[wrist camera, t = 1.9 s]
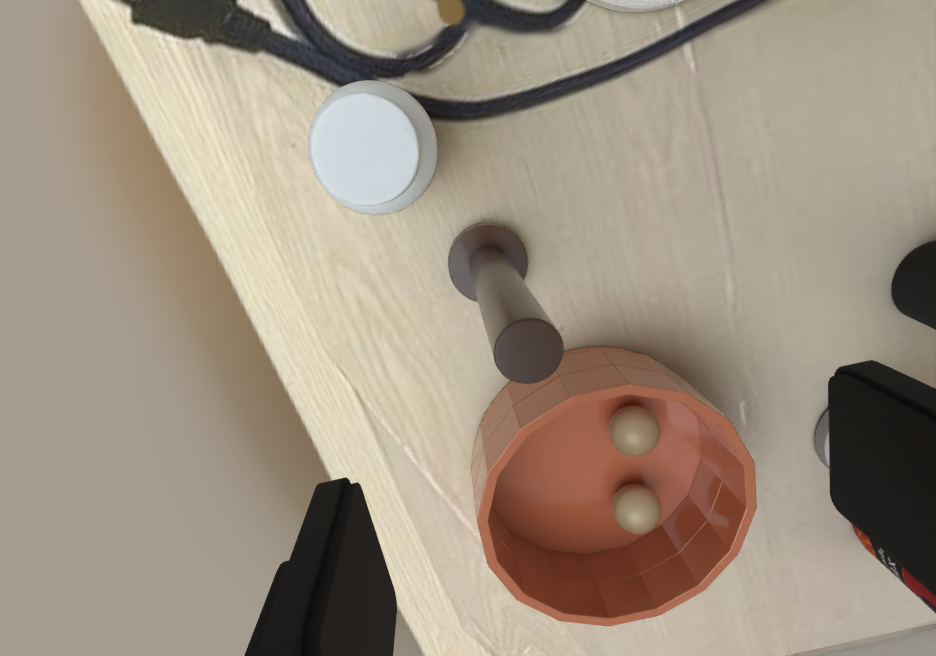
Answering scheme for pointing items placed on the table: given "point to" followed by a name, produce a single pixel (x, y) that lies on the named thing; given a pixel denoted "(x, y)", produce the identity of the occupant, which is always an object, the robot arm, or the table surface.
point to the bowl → (607, 490)
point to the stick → (505, 302)
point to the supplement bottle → (373, 147)
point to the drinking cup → (917, 285)
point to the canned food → (898, 571)
